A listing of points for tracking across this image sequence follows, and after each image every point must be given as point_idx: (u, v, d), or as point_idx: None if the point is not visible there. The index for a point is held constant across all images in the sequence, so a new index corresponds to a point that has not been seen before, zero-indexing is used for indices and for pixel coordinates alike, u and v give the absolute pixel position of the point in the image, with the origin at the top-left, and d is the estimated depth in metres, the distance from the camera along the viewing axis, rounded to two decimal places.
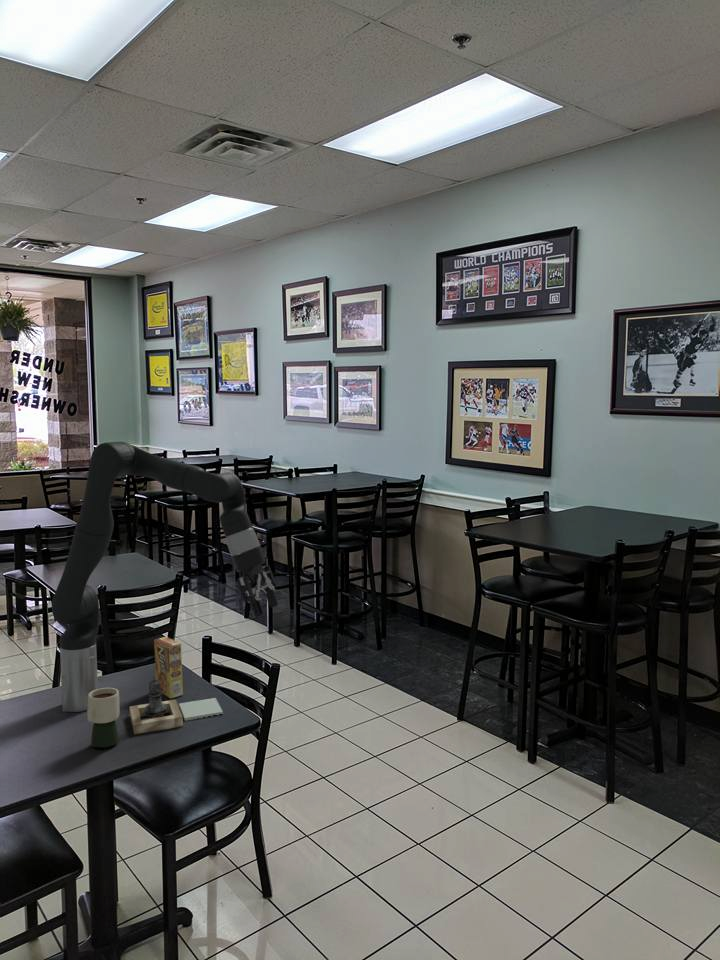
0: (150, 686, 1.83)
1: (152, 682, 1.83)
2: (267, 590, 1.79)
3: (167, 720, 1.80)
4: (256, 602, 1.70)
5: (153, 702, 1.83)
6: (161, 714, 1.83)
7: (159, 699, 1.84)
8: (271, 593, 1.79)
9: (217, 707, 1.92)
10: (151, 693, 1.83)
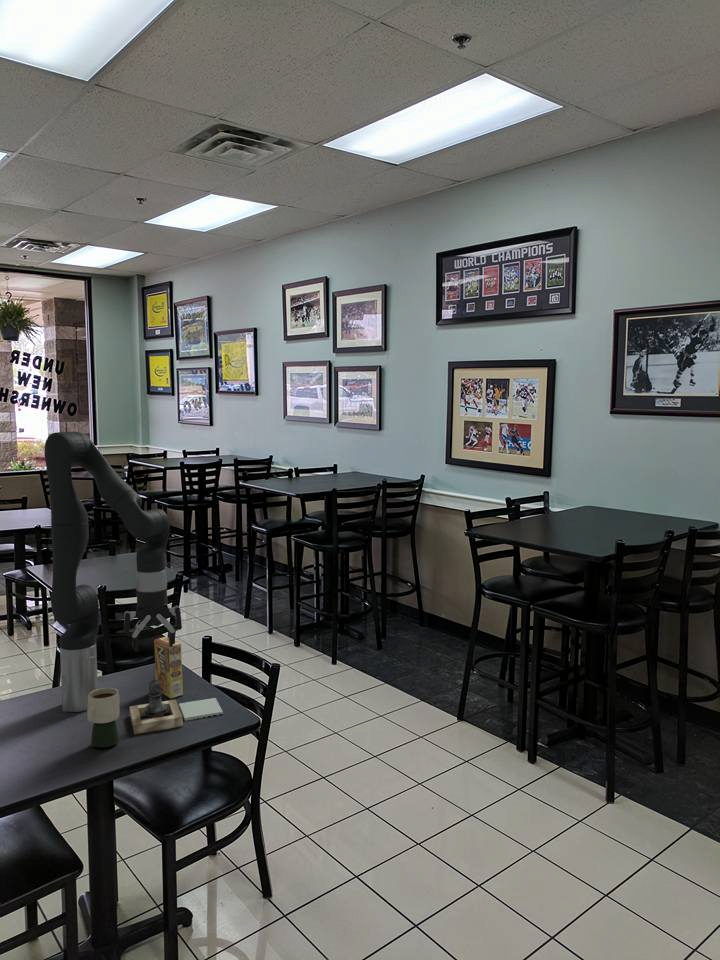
0: (150, 686, 1.83)
1: (152, 682, 1.83)
2: None
3: (167, 720, 1.80)
4: (133, 638, 1.80)
5: (153, 702, 1.83)
6: (161, 714, 1.83)
7: (159, 699, 1.84)
8: (169, 634, 1.84)
9: (217, 707, 1.92)
10: (151, 693, 1.83)
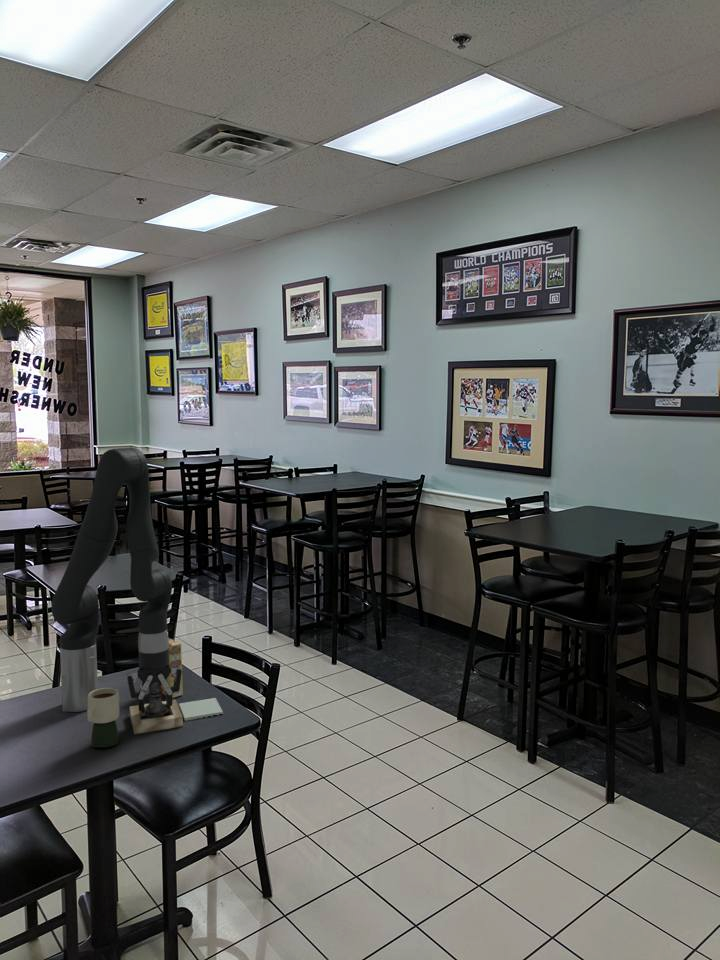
0: None
1: None
2: None
3: (167, 720, 1.80)
4: (139, 700, 1.82)
5: (153, 702, 1.83)
6: (161, 714, 1.83)
7: (159, 699, 1.84)
8: (166, 696, 1.85)
9: (217, 707, 1.92)
10: (151, 693, 1.83)
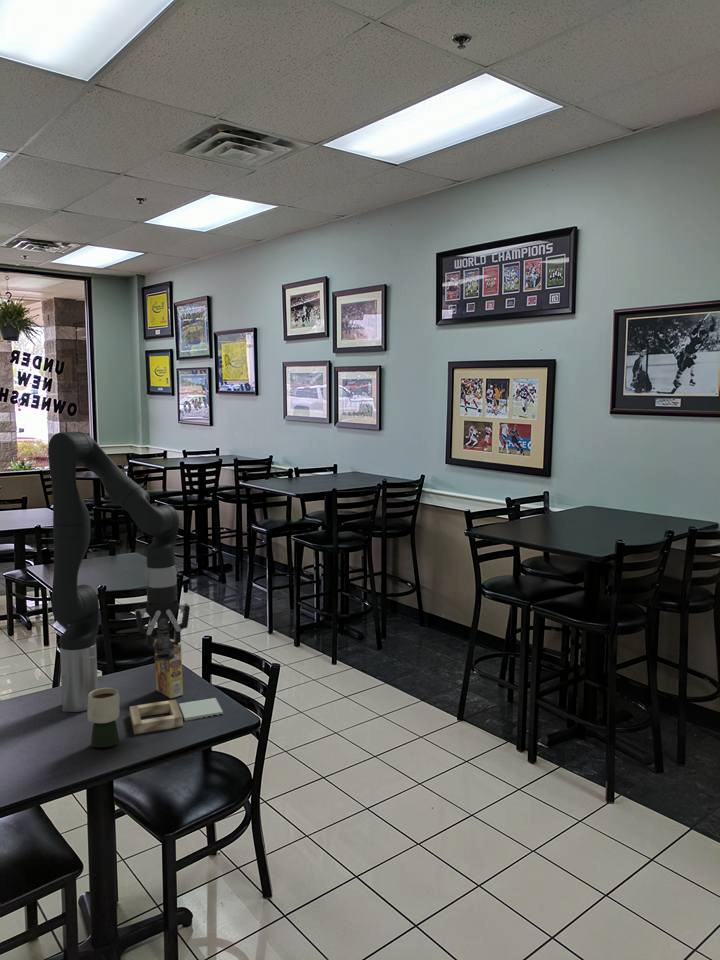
0: None
1: None
2: None
3: (167, 720, 1.80)
4: (147, 636, 1.82)
5: (162, 638, 1.83)
6: (169, 650, 1.83)
7: (167, 635, 1.83)
8: (175, 633, 1.85)
9: (217, 707, 1.92)
10: (159, 629, 1.83)
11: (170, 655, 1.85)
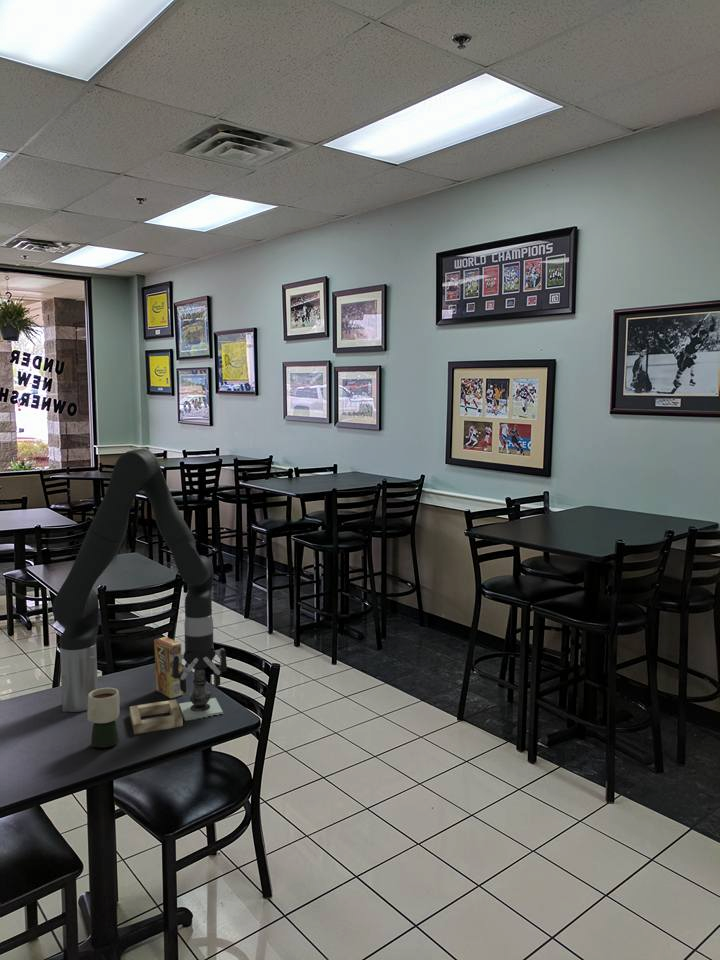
0: (195, 674, 1.90)
1: (197, 670, 1.90)
2: None
3: (167, 720, 1.80)
4: (181, 680, 1.88)
5: (198, 689, 1.90)
6: (206, 701, 1.90)
7: (204, 686, 1.90)
8: (215, 676, 1.92)
9: (217, 707, 1.92)
10: (196, 680, 1.90)
11: (206, 705, 1.92)
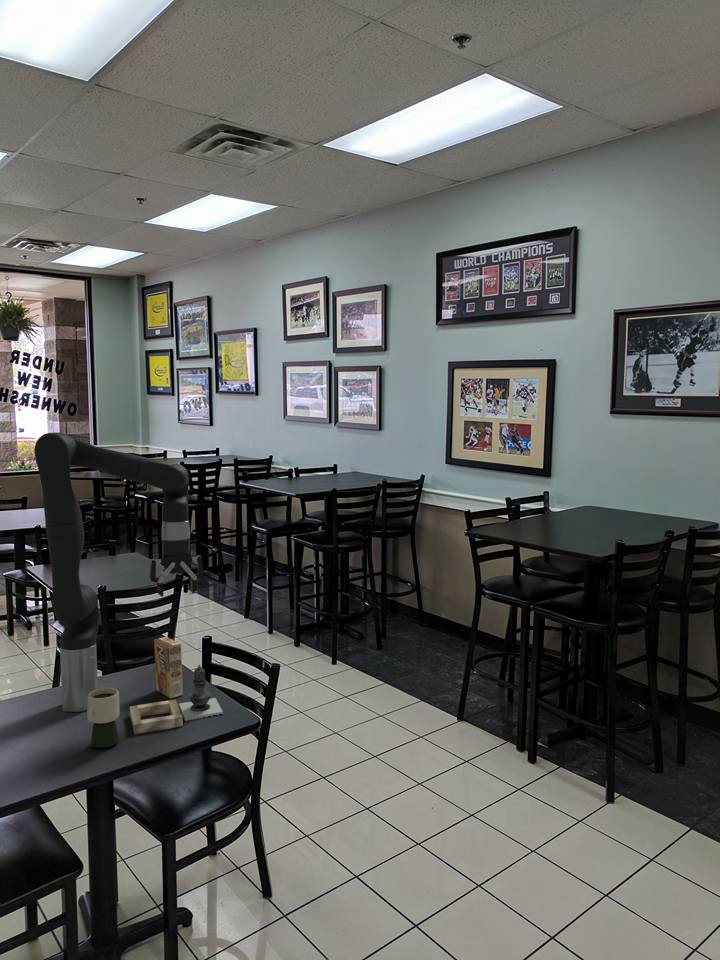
0: (195, 674, 1.90)
1: (197, 670, 1.90)
2: None
3: (167, 720, 1.80)
4: (158, 584, 1.94)
5: (198, 689, 1.90)
6: (206, 701, 1.90)
7: (204, 686, 1.90)
8: (191, 581, 1.97)
9: (217, 707, 1.92)
10: (196, 680, 1.90)
11: (206, 705, 1.92)
